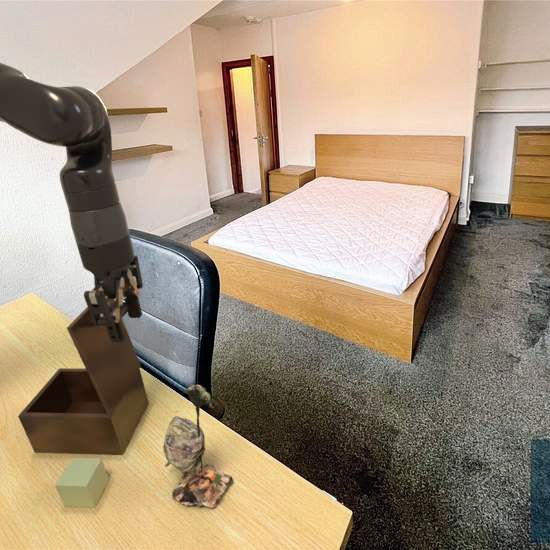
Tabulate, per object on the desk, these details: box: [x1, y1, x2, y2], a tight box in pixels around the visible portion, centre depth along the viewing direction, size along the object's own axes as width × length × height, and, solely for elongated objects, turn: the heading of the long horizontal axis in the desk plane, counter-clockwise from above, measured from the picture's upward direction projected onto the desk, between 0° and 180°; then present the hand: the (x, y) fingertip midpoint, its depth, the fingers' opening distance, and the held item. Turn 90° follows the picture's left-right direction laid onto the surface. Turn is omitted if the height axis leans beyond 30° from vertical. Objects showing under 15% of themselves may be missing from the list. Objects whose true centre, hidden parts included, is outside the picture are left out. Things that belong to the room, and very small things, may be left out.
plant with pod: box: [162, 384, 234, 510], centre depth 62 cm, size 8×11×20 cm
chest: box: [17, 367, 150, 456], centre depth 77 cm, size 17×13×9 cm
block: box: [54, 457, 109, 509], centre depth 65 cm, size 5×5×5 cm
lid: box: [66, 299, 142, 416], centre depth 70 cm, size 18×13×5 cm
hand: (127, 328), depth 68 cm, fingers open, 6 cm apart
